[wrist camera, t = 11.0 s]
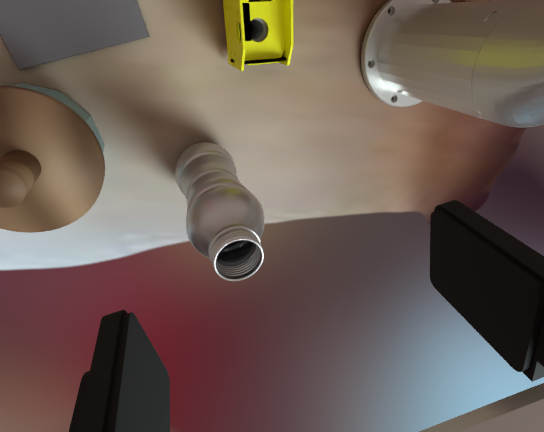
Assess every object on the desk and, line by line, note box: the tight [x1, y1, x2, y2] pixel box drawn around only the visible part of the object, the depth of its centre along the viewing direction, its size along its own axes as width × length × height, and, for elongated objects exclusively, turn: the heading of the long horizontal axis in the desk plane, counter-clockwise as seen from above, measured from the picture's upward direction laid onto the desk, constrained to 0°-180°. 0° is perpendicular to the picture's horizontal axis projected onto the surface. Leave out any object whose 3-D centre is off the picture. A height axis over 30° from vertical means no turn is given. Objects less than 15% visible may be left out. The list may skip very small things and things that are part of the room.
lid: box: [0, 86, 105, 232], centre depth 30 cm, size 13×13×6 cm
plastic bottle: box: [175, 142, 264, 281], centre depth 34 cm, size 6×7×20 cm
